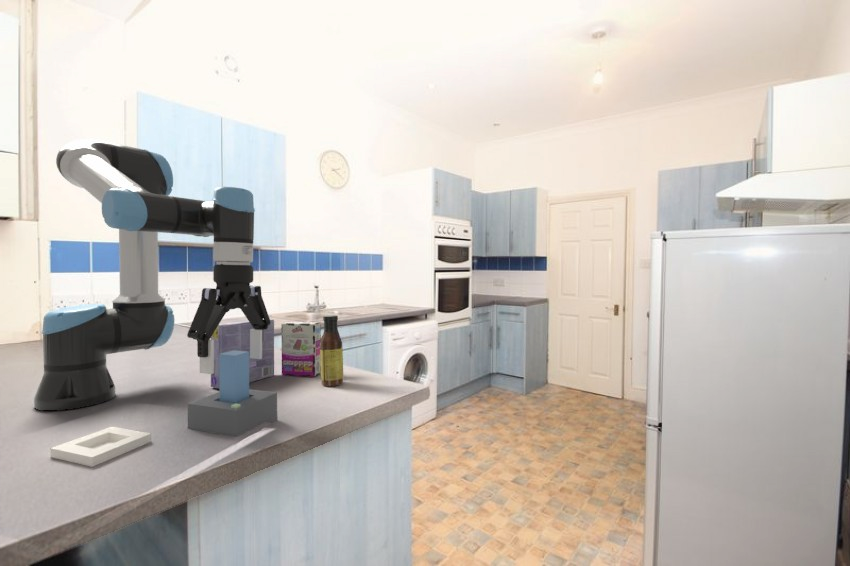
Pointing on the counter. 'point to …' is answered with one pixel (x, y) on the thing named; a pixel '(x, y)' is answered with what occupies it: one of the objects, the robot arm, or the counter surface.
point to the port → (232, 413)
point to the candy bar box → (301, 348)
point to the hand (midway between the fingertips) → (233, 365)
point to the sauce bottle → (331, 353)
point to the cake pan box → (243, 349)
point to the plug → (233, 376)
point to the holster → (100, 446)
